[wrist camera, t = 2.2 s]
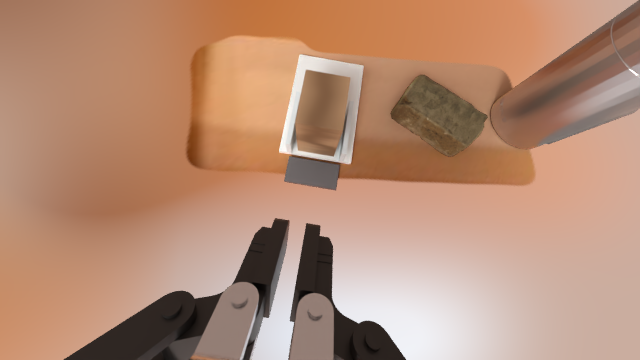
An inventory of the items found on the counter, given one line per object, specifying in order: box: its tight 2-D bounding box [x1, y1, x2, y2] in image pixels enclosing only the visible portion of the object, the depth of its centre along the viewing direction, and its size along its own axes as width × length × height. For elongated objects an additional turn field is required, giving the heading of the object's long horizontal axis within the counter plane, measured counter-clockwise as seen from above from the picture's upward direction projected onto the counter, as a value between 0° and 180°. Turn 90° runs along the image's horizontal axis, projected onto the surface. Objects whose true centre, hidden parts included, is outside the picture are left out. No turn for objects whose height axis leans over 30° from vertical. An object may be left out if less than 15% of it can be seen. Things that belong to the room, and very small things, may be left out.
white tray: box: [279, 54, 364, 190], centre depth 31 cm, size 10×20×4 cm, turn 171°
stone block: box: [391, 75, 488, 157], centre depth 32 cm, size 6×12×5 cm, turn 54°
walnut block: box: [295, 70, 351, 157], centre depth 28 cm, size 5×6×8 cm
